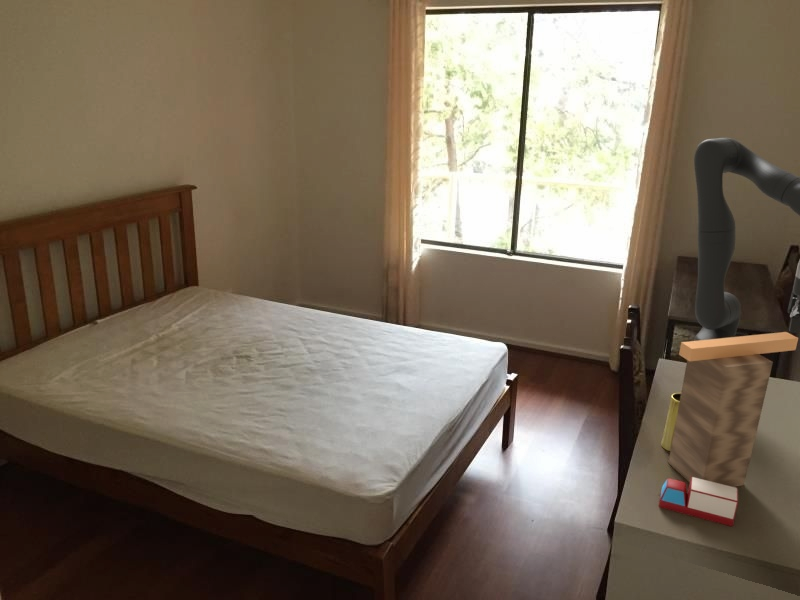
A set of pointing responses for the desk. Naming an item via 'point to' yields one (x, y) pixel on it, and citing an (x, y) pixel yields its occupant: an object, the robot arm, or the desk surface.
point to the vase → (671, 421)
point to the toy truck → (701, 499)
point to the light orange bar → (737, 346)
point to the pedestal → (719, 418)
